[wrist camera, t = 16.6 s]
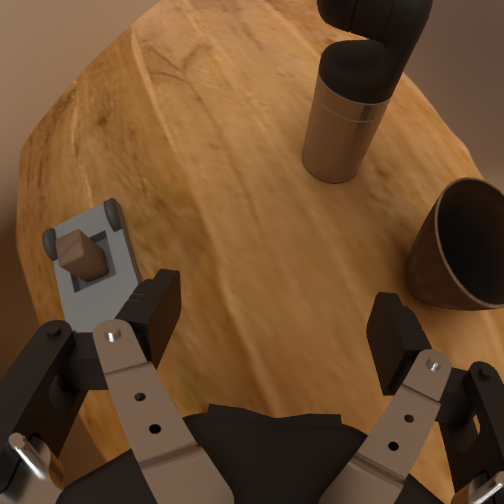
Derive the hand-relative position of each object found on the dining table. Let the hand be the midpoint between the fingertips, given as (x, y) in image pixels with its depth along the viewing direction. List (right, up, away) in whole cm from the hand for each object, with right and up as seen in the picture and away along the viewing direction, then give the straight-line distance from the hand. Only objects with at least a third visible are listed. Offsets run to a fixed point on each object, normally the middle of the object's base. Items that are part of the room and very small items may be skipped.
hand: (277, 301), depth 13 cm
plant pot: (+24, -2, +30) cm, 38 cm away
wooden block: (-23, 0, +30) cm, 38 cm away
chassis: (-22, -3, +30) cm, 37 cm away
